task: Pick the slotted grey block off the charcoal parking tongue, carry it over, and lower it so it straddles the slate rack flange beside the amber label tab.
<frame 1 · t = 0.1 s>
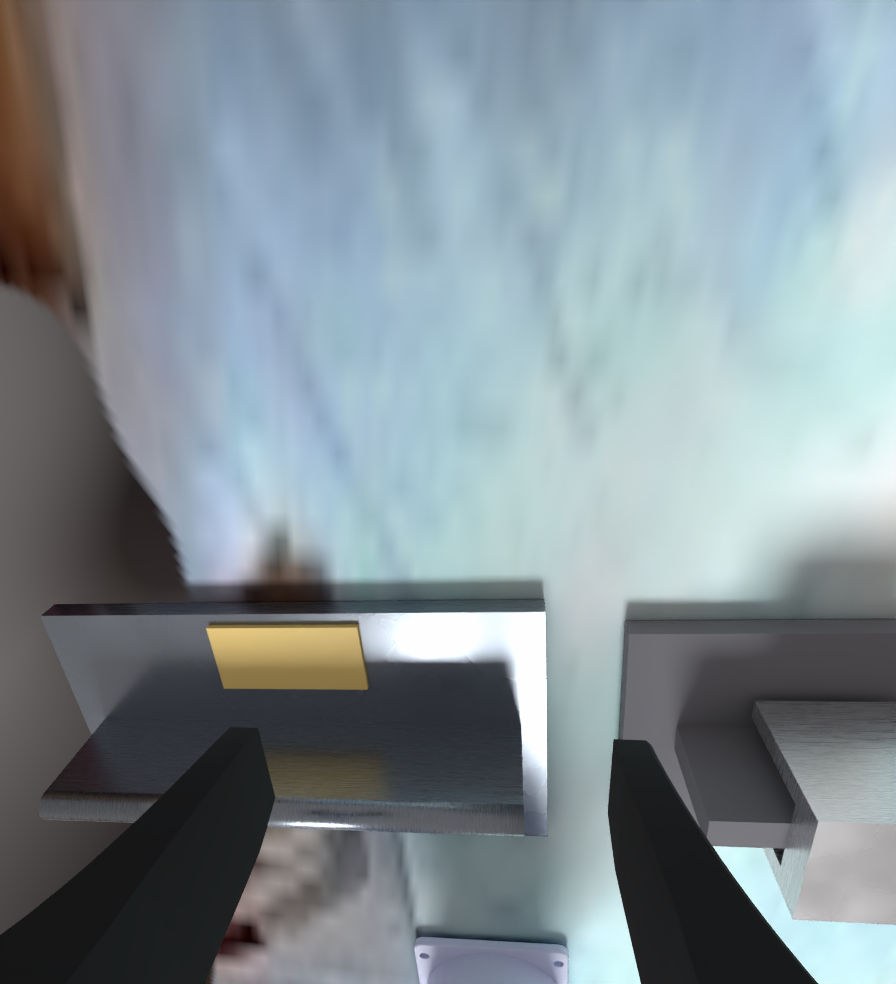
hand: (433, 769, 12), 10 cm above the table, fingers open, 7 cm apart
slotted grey block: (816, 748, 22), point 1 cm above the table, touching parking tongue
rack flange: (312, 717, 25), on the table
parking tongue: (801, 723, 23), on the table
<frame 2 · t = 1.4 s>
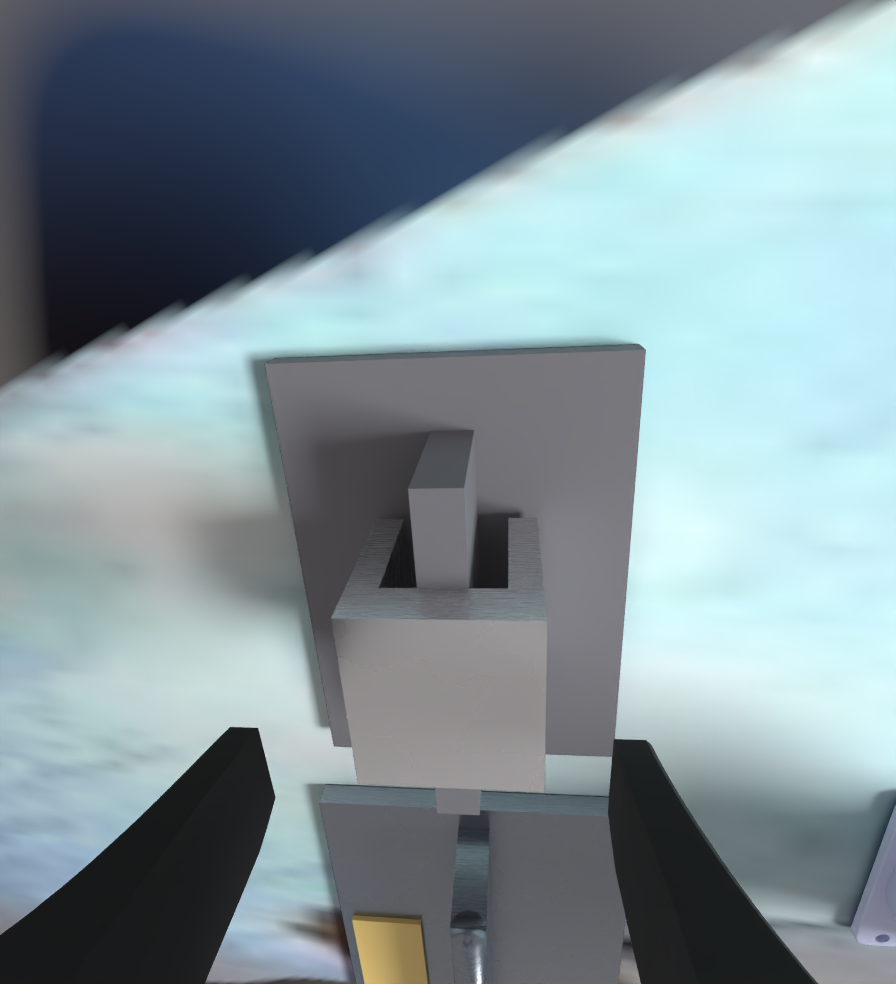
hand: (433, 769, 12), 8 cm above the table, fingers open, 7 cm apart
slotted grey block: (459, 592, 18), point 1 cm above the table, touching parking tongue
rack flange: (482, 945, 27), on the table
parking tongue: (462, 571, 19), on the table
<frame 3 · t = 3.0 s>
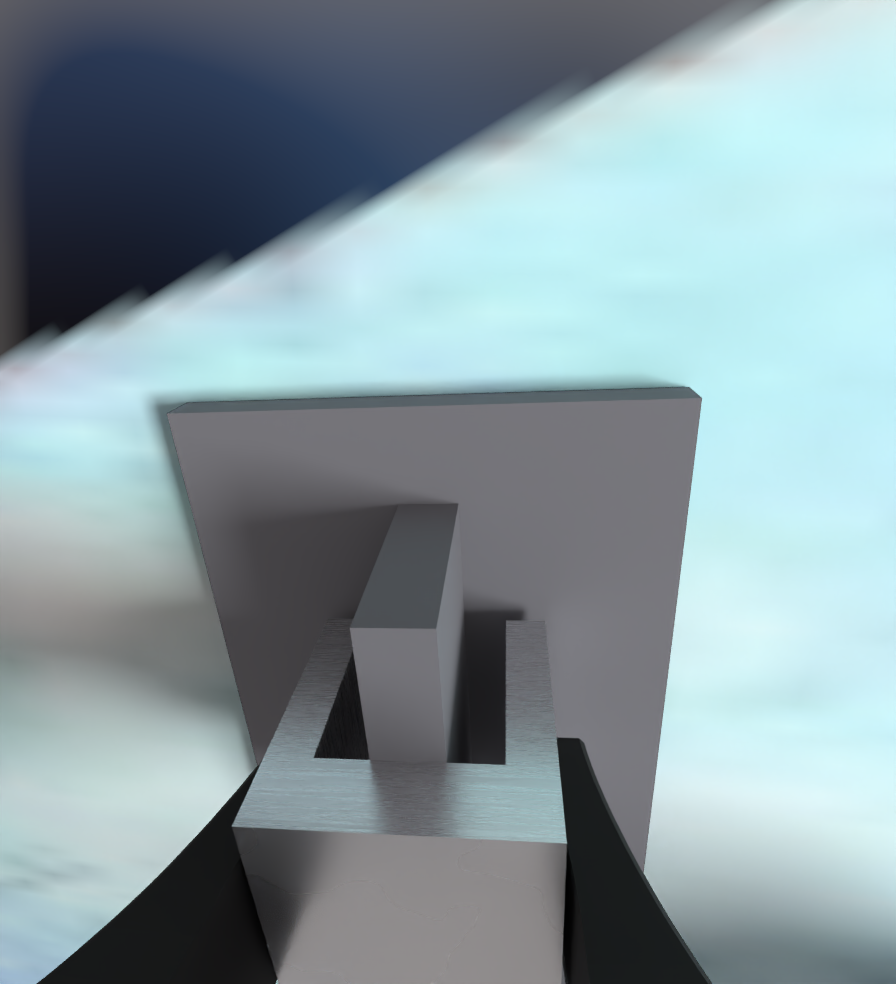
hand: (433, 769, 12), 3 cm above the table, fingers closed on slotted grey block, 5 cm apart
slotted grey block: (441, 710, 13), point 1 cm above the table, touching gripper, parking tongue
parking tongue: (446, 674, 14), on the table
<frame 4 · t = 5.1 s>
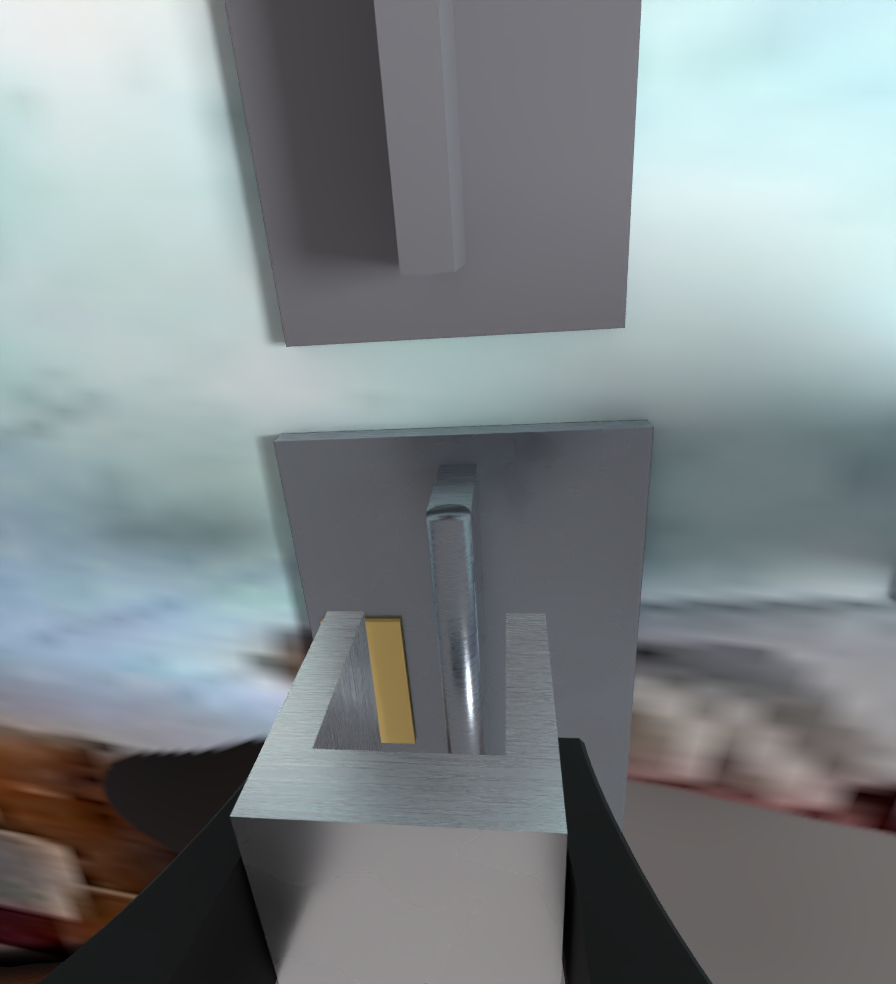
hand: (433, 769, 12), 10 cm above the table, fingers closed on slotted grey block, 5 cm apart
slotted grey block: (440, 704, 13), point 8 cm above the table, touching gripper
rack flange: (474, 668, 23), on the table
parking tongue: (434, 55, 15), on the table
sunglasses case: (90, 975, 37), on the table
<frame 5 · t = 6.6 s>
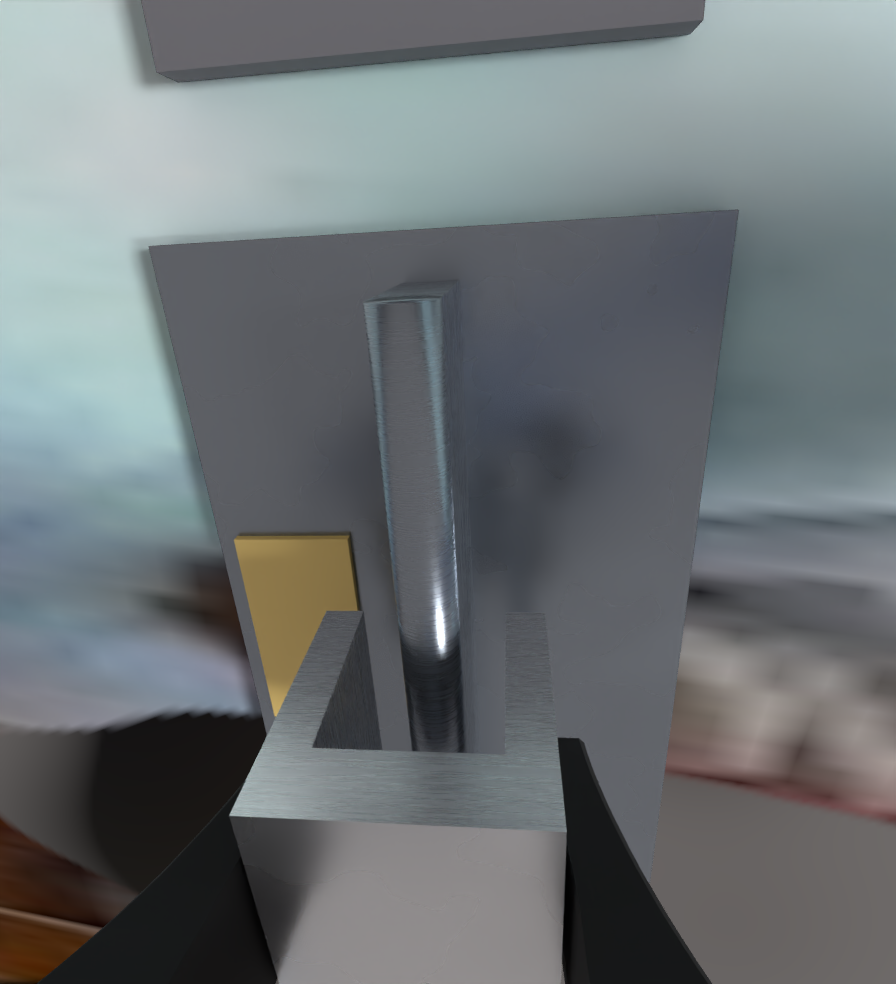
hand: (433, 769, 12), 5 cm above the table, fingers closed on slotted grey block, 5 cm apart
slotted grey block: (440, 703, 13), point 4 cm above the table, touching gripper
rack flange: (455, 615, 17), on the table
when the fingers open (5 cm above the table, at t = 7.7 s): slotted grey block drops 2 cm, resting on rack flange.
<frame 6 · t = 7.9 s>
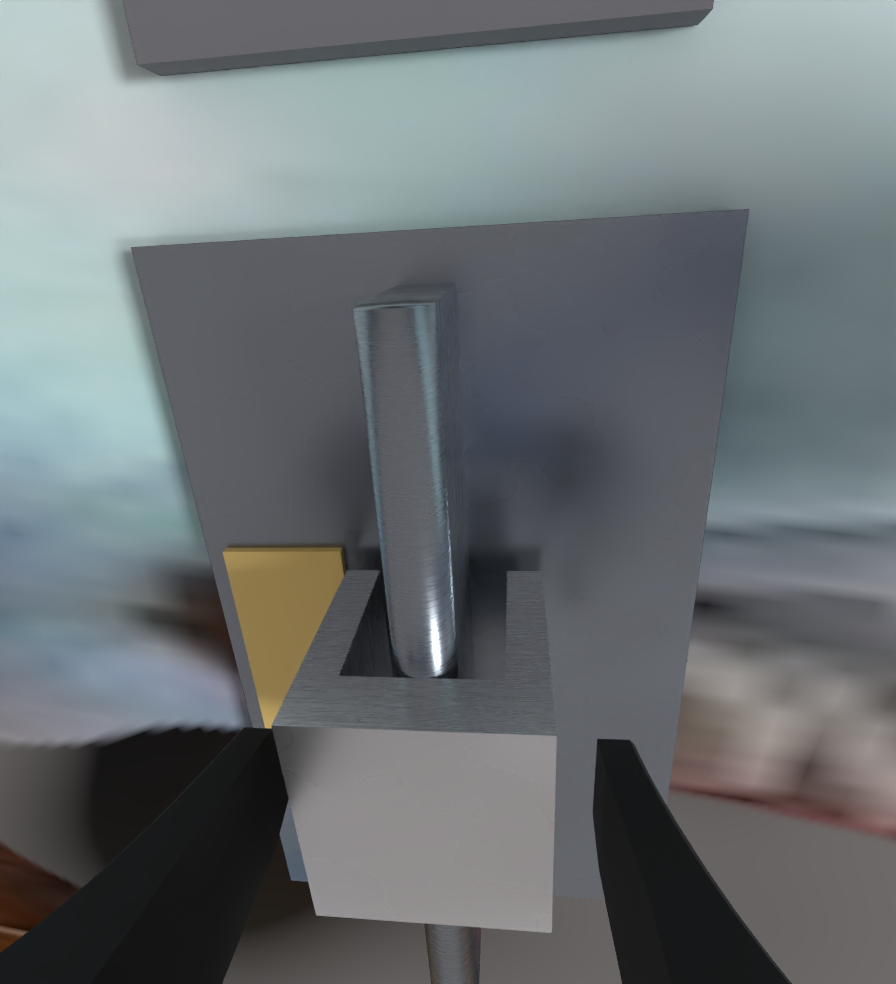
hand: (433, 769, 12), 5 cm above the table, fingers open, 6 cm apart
slotted grey block: (448, 656, 15), point 1 cm above the table, touching rack flange
rack flange: (452, 628, 16), on the table
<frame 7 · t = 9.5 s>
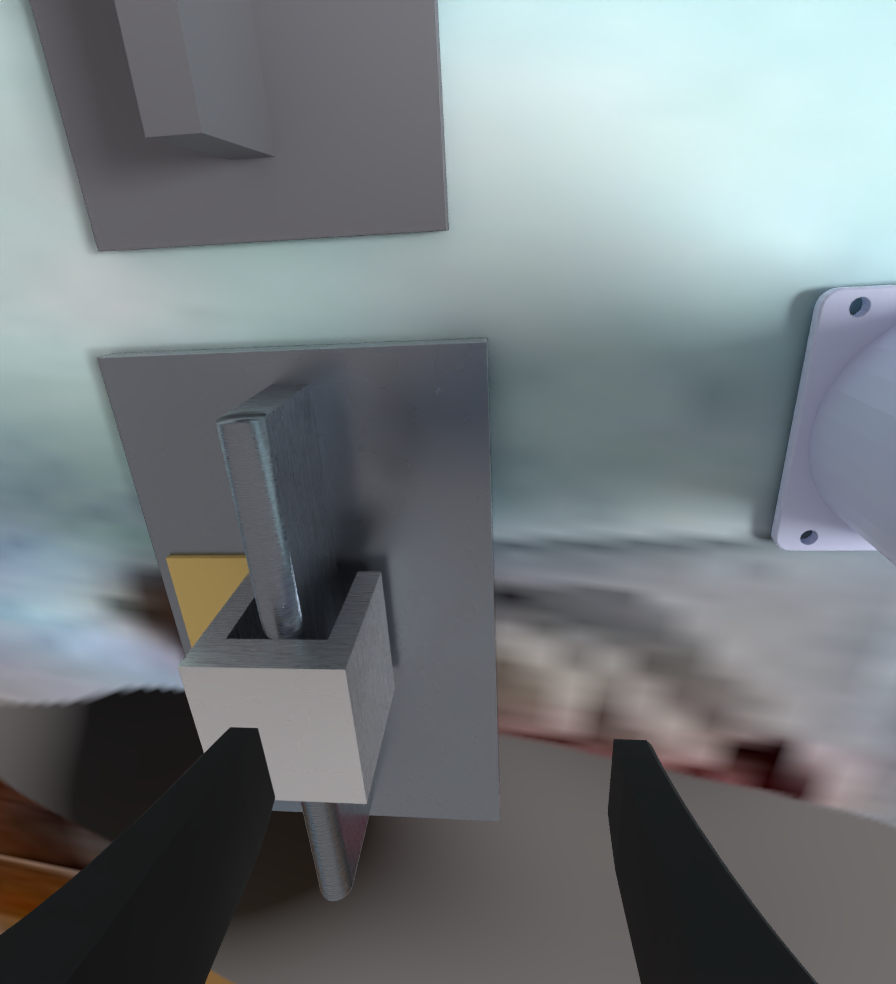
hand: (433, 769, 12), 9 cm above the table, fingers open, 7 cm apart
slotted grey block: (324, 631, 21), point 1 cm above the table, touching rack flange
rack flange: (336, 613, 22), on the table
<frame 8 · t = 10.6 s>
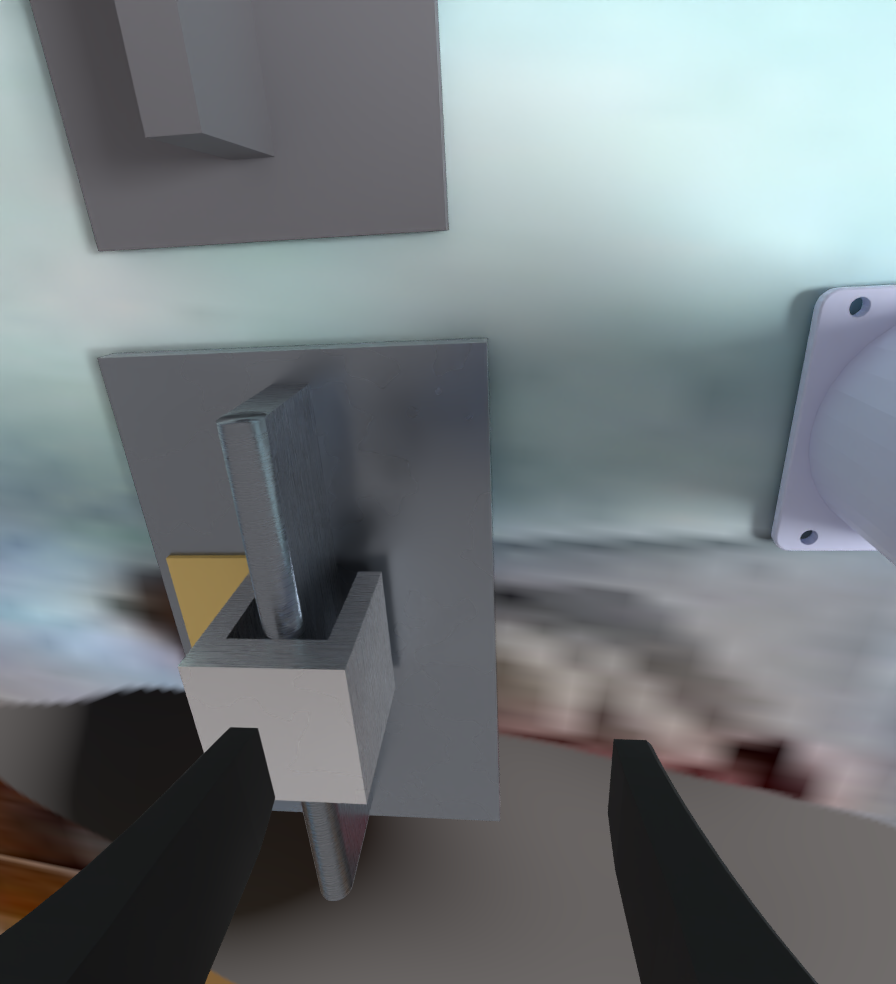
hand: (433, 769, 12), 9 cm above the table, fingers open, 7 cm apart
slotted grey block: (325, 631, 21), point 1 cm above the table, touching rack flange
rack flange: (336, 613, 22), on the table
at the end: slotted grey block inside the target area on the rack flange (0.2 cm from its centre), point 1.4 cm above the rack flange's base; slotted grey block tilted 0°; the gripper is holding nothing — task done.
